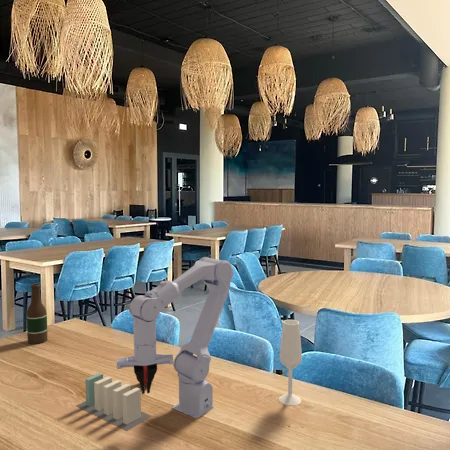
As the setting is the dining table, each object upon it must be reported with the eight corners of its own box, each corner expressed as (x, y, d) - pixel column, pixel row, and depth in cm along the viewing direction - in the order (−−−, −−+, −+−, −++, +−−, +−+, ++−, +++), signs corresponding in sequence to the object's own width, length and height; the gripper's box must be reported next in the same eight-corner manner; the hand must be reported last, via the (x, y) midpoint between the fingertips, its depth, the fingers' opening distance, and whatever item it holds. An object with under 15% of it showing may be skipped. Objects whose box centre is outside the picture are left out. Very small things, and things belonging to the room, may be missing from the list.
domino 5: (140, 416, 119) (140, 388, 118) (127, 424, 115) (126, 396, 114) (137, 414, 120) (136, 387, 119) (123, 422, 116) (122, 394, 115)
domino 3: (121, 408, 124) (121, 381, 123) (107, 415, 120) (107, 387, 119) (117, 406, 125) (117, 379, 124) (103, 413, 121) (103, 386, 120)
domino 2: (112, 403, 126) (111, 377, 125) (98, 411, 122) (97, 383, 121) (108, 402, 127) (108, 376, 126) (94, 409, 123) (94, 382, 122)
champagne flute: (274, 397, 131) (275, 320, 129) (293, 392, 134) (294, 317, 132) (286, 407, 125) (287, 326, 123) (305, 402, 128) (307, 324, 126)
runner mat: (151, 417, 119) (151, 416, 119) (126, 432, 112) (126, 430, 112) (101, 395, 132) (101, 393, 132) (75, 407, 125) (75, 405, 125)
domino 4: (131, 412, 121) (130, 385, 121) (117, 420, 117) (116, 391, 117) (127, 410, 122) (126, 383, 122) (113, 418, 118) (112, 390, 118)
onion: (146, 380, 143) (146, 356, 142) (158, 385, 139) (158, 361, 138) (132, 386, 138) (132, 362, 137) (144, 391, 134) (144, 367, 134)
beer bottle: (51, 340, 180) (49, 283, 178) (34, 345, 173) (32, 287, 171) (40, 336, 184) (38, 281, 182) (23, 342, 177) (21, 285, 175)
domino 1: (103, 400, 128) (103, 374, 128) (89, 406, 124) (88, 380, 124) (100, 398, 129) (99, 372, 129) (86, 405, 125) (85, 378, 125)
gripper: (171, 334, 118) (171, 382, 119) (116, 338, 115) (117, 387, 116) (174, 343, 111) (174, 394, 112) (116, 348, 108) (117, 400, 109)
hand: (145, 391), depth 113 cm, fingers closed
